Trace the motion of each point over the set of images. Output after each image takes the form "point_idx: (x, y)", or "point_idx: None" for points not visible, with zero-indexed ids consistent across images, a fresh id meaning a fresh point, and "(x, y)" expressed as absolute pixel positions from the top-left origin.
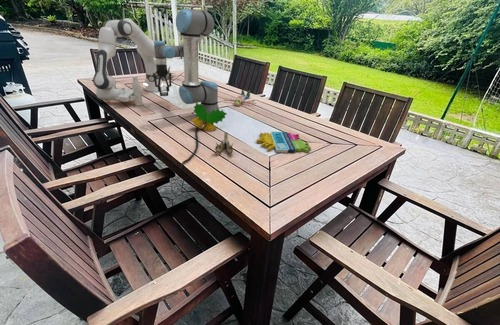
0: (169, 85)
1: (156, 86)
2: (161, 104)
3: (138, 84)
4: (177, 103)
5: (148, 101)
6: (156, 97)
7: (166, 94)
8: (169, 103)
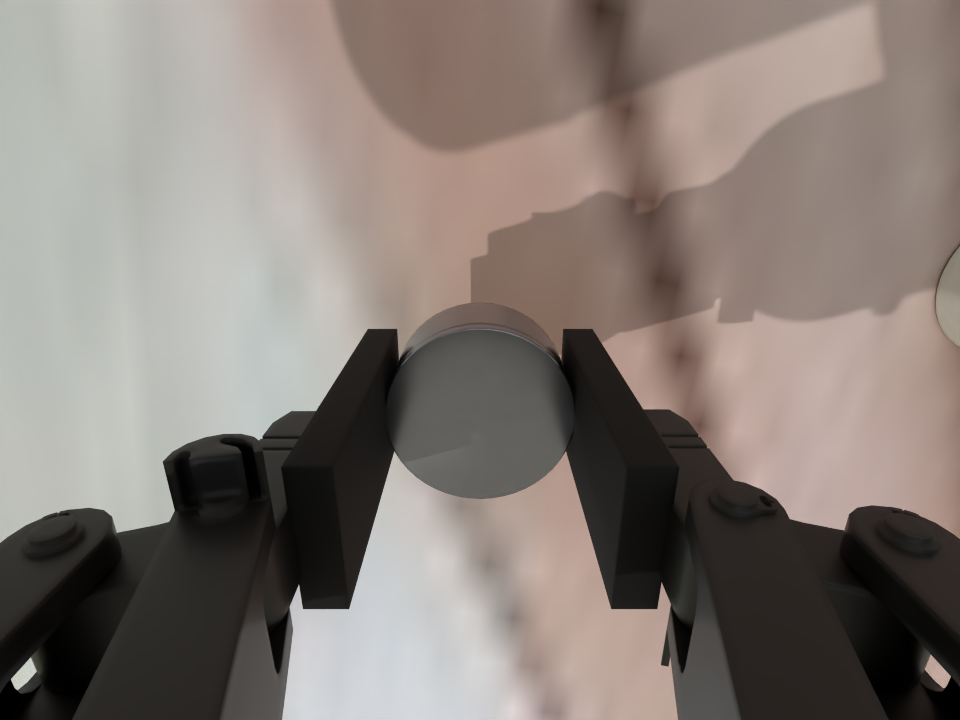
0: (124, 572)
1: (882, 517)
2: (571, 199)
3: None
4: (211, 208)
5: (771, 448)
6: (580, 636)
7: (413, 343)
8: (390, 243)
